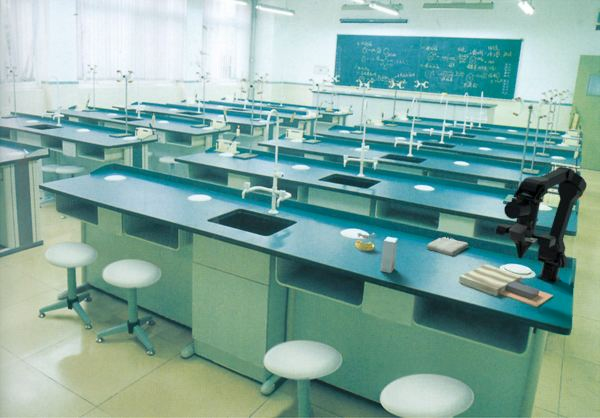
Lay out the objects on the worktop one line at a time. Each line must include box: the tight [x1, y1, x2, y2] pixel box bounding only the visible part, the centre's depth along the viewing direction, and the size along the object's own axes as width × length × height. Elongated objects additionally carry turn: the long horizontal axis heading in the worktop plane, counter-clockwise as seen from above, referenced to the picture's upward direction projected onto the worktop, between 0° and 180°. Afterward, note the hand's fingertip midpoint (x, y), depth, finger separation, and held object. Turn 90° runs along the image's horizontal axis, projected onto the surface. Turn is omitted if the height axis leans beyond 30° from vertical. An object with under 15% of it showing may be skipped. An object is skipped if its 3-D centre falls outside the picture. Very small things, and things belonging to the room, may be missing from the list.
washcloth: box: [426, 236, 469, 257], centre depth 216 cm, size 12×18×3 cm, turn 141°
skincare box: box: [379, 236, 399, 274], centre depth 186 cm, size 6×4×12 cm
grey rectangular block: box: [506, 281, 540, 299], centre depth 173 cm, size 6×9×2 cm, turn 43°
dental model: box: [354, 232, 376, 252], centre depth 209 cm, size 8×7×7 cm
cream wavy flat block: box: [458, 264, 523, 297], centre depth 181 cm, size 20×14×2 cm
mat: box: [499, 290, 554, 308], centre depth 172 cm, size 14×12×1 cm
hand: (520, 258), depth 173 cm, fingers closed
